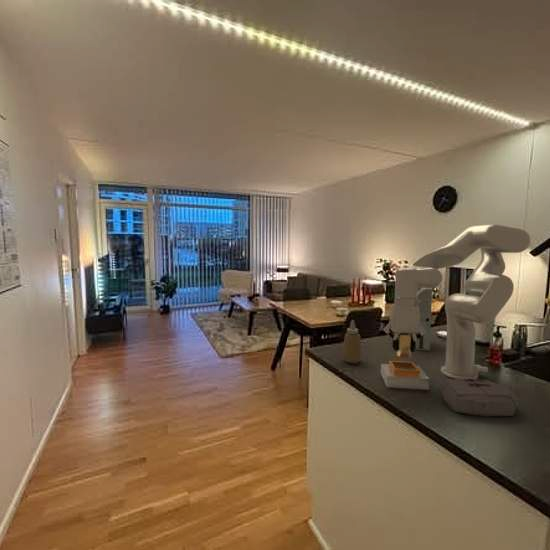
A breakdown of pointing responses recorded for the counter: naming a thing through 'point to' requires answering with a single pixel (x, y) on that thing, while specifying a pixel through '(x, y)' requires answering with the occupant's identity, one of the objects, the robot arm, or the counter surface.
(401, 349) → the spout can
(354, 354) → the squeeze bottle
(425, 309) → the device
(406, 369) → the orange white open box
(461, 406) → the grey rounded bag
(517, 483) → the counter surface
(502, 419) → the counter surface
